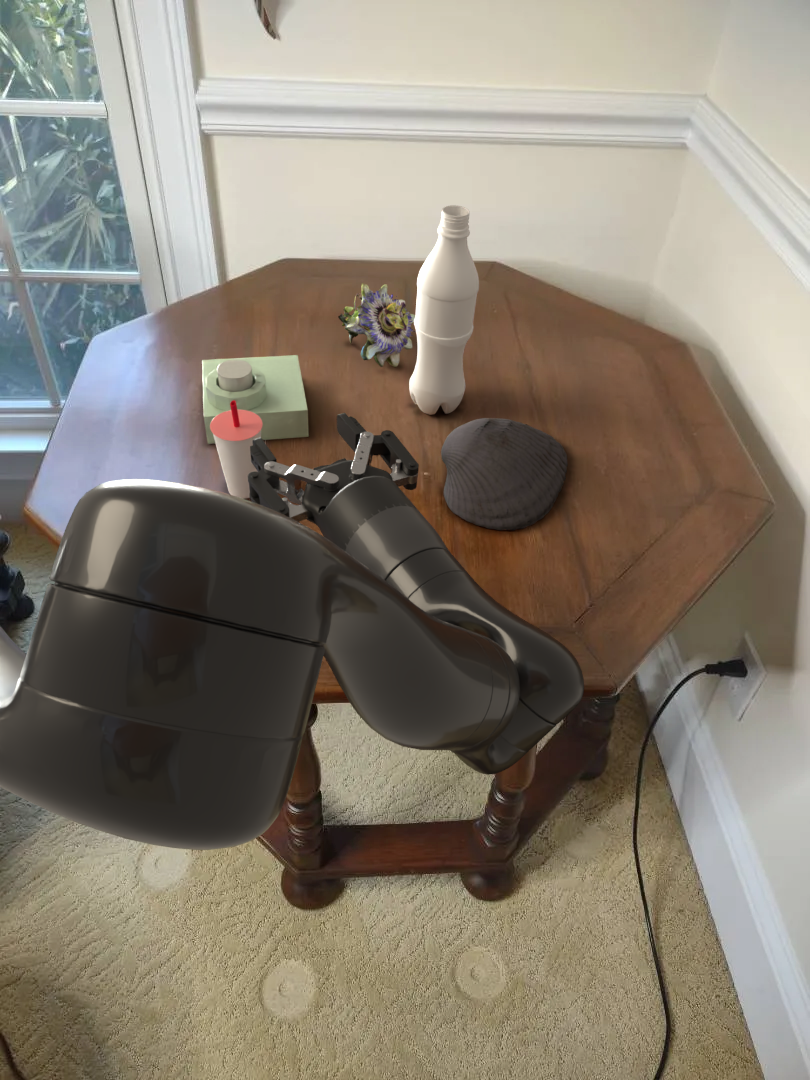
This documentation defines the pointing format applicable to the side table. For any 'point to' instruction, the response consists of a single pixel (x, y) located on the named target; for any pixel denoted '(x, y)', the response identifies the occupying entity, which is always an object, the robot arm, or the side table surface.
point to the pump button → (235, 375)
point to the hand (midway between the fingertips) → (299, 433)
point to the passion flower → (380, 325)
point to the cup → (236, 446)
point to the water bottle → (444, 315)
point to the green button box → (261, 396)
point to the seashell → (502, 473)
